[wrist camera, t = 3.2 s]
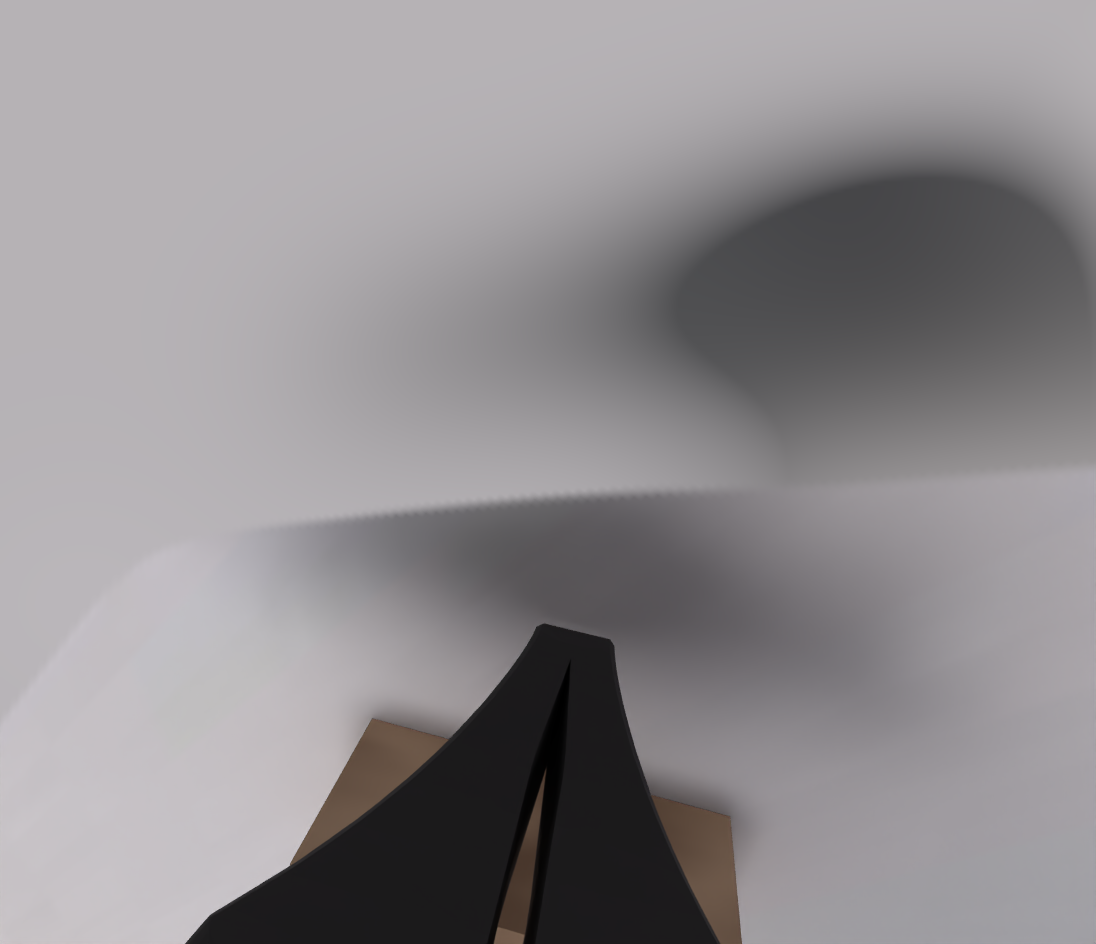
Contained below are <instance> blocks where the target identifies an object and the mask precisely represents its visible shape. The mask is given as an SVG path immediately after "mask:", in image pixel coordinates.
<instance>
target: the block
mask: <svg viewBox="0 0 1096 944" xmlns="http://www.w3.org/2000/svg"><path fill="white" fill-rule="evenodd" d="M448 740H449V739H445V738H442V737H438V736H434V735H431V734H427V733H423V732H420V731H416V730H413V729H409V728H405V727H402V726H398V725H394V724H391V723H387V722H383V721H380V720H376V719H373V718H372V720H371V722H370V723H369V725H368V727H367V729H366V730H365V732H364V734H363V736H362V738H361V739H360V741H359V743H358V745H357V746H356V748H355V750H354V752H353V753H352V755H351V757H350V759H349V761H348V762H347V764H346V766H345V768H344V769H343V771H342V773H341V775H340V776H339V778H338V780H337V782H336V784H335V785H334V787H333V789H332V791H331V792H330V794H329V796H328V798H327V799H326V801H325V803H324V805H323V806H322V808H321V810H320V812H319V814H318V815H317V817H316V819H315V821H314V822H313V824H312V826H311V828H310V829H309V831H308V833H307V835H306V837H305V838H304V840H303V842H302V844H301V845H300V847H299V849H298V851H297V852H296V854H295V856H294V858H293V860H292V861H291V863H290V866H291V865H292V864H294V863H295V862H297V861H298V860H300V859H301V858H303V857H304V856H306V855H307V854H308V853H310V852H311V851H313V850H314V849H315V848H317V847H318V846H320V845H321V844H322V843H324V842H325V841H327V840H328V839H330V838H331V837H332V836H334V835H335V834H337V833H338V832H339V831H341V830H342V829H344V828H345V827H346V826H348V825H349V824H351V823H352V822H354V821H355V820H356V819H358V818H359V817H360V816H361V815H363V814H364V813H365V812H367V811H368V810H369V809H371V808H372V807H373V806H374V805H376V804H377V803H378V802H379V801H381V800H382V799H383V798H384V797H385V796H387V795H388V794H389V793H390V792H391V791H393V790H394V789H395V788H396V787H397V786H399V785H400V784H401V783H402V782H403V781H405V780H406V779H407V778H408V777H409V776H410V775H412V774H413V773H414V772H415V771H416V770H417V769H418V768H419V767H421V766H422V765H423V764H424V763H425V762H426V761H427V760H428V759H429V758H430V757H431V756H433V755H434V754H435V753H436V752H437V751H438V750H439V749H440V748H441V747H442V746H443V745H444V744H445V743H446V742H447V741H448ZM545 775H546V770H545V774H544V777H543V780H542V783H541V786H540V790H539V793H538V796H537V799H536V802H535V805H534V809H533V812H532V815H531V818H530V821H529V824H528V828H527V831H526V834H525V837H524V840H523V843H522V847H521V850H520V853H519V856H518V859H517V862H516V866H515V869H514V872H513V875H512V878H511V881H510V884H509V888H508V891H507V894H506V898H505V901H504V905H503V909H502V912H501V916H500V920H499V923H498V928H497V932H496V936H495V941H494V944H523V941H524V936H525V931H526V925H527V918H528V912H529V905H530V899H531V891H532V882H533V874H534V866H535V857H536V849H537V841H538V832H539V824H540V816H541V808H542V799H543V791H544V783H545ZM651 796H652V799H653V802H654V804H655V807H656V809H657V812H658V815H659V817H660V820H661V822H662V824H663V827H664V829H665V831H666V834H667V836H668V838H669V841H670V843H671V846H672V848H673V850H674V852H675V855H676V857H677V859H678V861H679V863H680V865H681V867H682V870H683V872H684V874H685V876H686V878H687V880H688V883H689V885H690V887H691V889H692V891H693V893H694V895H695V897H696V898H697V900H698V902H699V904H700V906H701V908H702V910H703V912H704V914H705V915H706V917H707V919H708V921H709V923H710V925H711V927H712V929H713V931H714V933H715V934H716V936H717V938H718V940H719V942H720V944H742V940H741V929H740V918H739V907H738V896H737V886H736V875H735V864H734V853H733V842H732V832H731V821H730V817H729V816H726V815H722V814H718V813H715V812H711V811H707V810H704V809H700V808H696V807H693V806H689V805H685V804H682V803H678V802H675V801H671V800H667V799H664V798H660V797H656V796H653V795H651Z"/></svg>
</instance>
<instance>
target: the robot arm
mask: <svg viewBox="0 0 1096 944" xmlns="http://www.w3.org/2000/svg"><path fill="white" fill-rule="evenodd" d="M545 770H546V775H545V783H544V791H543V799H542V808H541V816H540V824H539V832H538V841H537V849H536V857H535V866H534V874H533V882H532V891H531V899H530V905H529V912H528V918H527V925H526V931H525V936H524V941H523V944H720V942H719V940H718V938H717V936H716V934H715V933H714V931H713V929H712V927H711V925H710V923H709V921H708V919H707V917H706V915H705V914H704V912H703V910H702V908H701V906H700V904H699V902H698V900H697V898H696V897H695V895H694V893H693V891H692V889H691V887H690V885H689V883H688V880H687V878H686V876H685V874H684V872H683V870H682V867H681V865H680V863H679V861H678V859H677V857H676V855H675V852H674V850H673V848H672V846H671V843H670V841H669V838H668V836H667V834H666V831H665V829H664V827H663V824H662V822H661V820H660V817H659V815H658V812H657V809H656V807H655V804H654V802H653V799H652V796H651V794H650V791H649V788H648V785H647V782H646V779H645V777H644V774H643V771H642V768H641V765H640V762H639V759H638V756H637V752H636V749H635V746H634V742H633V739H632V735H631V732H630V728H629V724H628V721H627V717H626V714H625V709H624V705H623V701H622V696H621V692H620V687H619V682H618V676H617V670H616V662H615V651H614V645H613V643H612V642H611V641H610V639H605V638H601V637H597V636H593V635H589V634H585V633H581V632H577V631H573V630H569V629H565V628H560V627H556V626H552V625H548V624H542V625H540V626H538V627H536V629H535V632H534V634H533V636H532V637H531V639H530V641H529V642H528V644H527V646H526V647H525V649H524V651H523V652H522V653H521V655H520V656H519V658H518V659H517V661H516V662H515V663H514V665H513V666H512V668H511V669H510V670H509V672H508V673H507V674H506V675H505V677H504V678H503V679H502V680H501V682H500V683H499V684H498V685H497V687H496V688H495V689H494V690H493V692H492V693H491V694H490V695H489V697H488V698H487V699H486V700H485V701H484V702H483V704H482V705H481V706H480V707H479V708H478V709H477V710H476V711H475V712H474V713H473V715H472V716H471V717H470V718H469V719H468V720H467V721H466V722H465V723H464V724H463V725H462V726H461V727H460V729H459V730H458V731H457V732H456V733H455V734H454V735H453V736H452V737H451V738H450V739H449V740H448V741H447V742H446V743H445V744H444V745H443V746H442V747H441V748H440V749H439V750H438V751H437V752H436V753H435V754H434V755H433V756H431V757H430V758H429V759H428V760H427V761H426V762H425V763H424V764H423V765H422V766H421V767H419V768H418V769H417V770H416V771H415V772H414V773H413V774H412V775H410V776H409V777H408V778H407V779H406V780H405V781H403V782H402V783H401V784H400V785H399V786H397V787H396V788H395V789H394V790H393V791H391V792H390V793H389V794H388V795H387V796H385V797H384V798H383V799H382V800H381V801H379V802H378V803H377V804H376V805H374V806H373V807H372V808H371V809H369V810H368V811H367V812H365V813H364V814H363V815H361V816H360V817H359V818H358V819H356V820H355V821H354V822H352V823H351V824H349V825H348V826H346V827H345V828H344V829H342V830H341V831H339V832H338V833H337V834H335V835H334V836H332V837H331V838H330V839H328V840H327V841H325V842H324V843H322V844H321V845H320V846H318V847H317V848H315V849H314V850H313V851H311V852H310V853H308V854H307V855H306V856H304V857H303V858H301V859H300V860H298V861H297V862H295V863H294V864H292V865H291V866H289V867H287V868H286V869H284V870H283V871H281V872H279V873H278V874H276V875H275V876H273V877H271V878H270V879H268V880H266V881H265V882H263V883H262V884H260V885H258V886H257V887H255V888H253V889H252V890H250V891H248V892H247V893H245V894H244V895H242V896H240V897H239V898H237V899H235V900H234V901H232V902H230V903H229V904H227V905H226V906H224V907H222V908H221V909H219V910H217V911H216V912H214V913H212V914H211V915H210V916H209V917H208V918H207V919H206V920H205V921H204V922H203V924H202V925H201V926H200V927H199V928H198V929H197V930H196V932H195V933H194V934H193V935H192V936H191V938H190V939H189V940H188V941H187V942H186V943H185V944H494V941H495V936H496V932H497V928H498V923H499V920H500V916H501V912H502V909H503V905H504V901H505V898H506V894H507V891H508V888H509V884H510V881H511V878H512V875H513V872H514V869H515V866H516V862H517V859H518V856H519V853H520V850H521V847H522V843H523V840H524V837H525V834H526V831H527V828H528V824H529V821H530V818H531V815H532V812H533V809H534V805H535V802H536V799H537V796H538V793H539V790H540V786H541V783H542V780H543V777H544V774H545Z"/></svg>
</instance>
